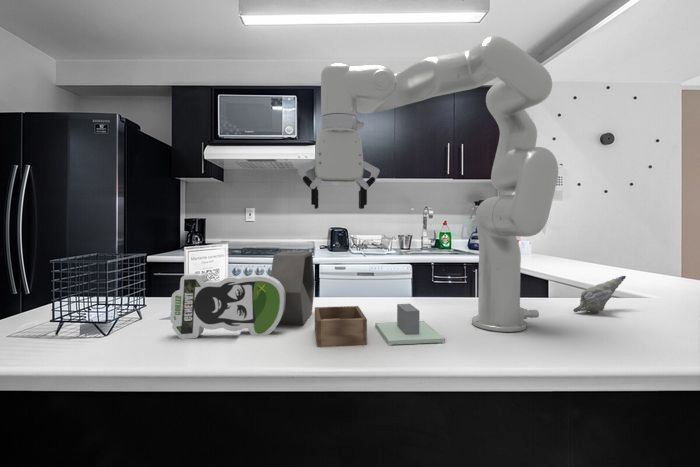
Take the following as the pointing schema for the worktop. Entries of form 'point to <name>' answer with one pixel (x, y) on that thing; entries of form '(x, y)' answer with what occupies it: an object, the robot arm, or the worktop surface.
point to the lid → (408, 328)
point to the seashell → (598, 296)
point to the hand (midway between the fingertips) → (339, 208)
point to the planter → (295, 285)
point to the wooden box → (340, 326)
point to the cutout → (227, 304)
